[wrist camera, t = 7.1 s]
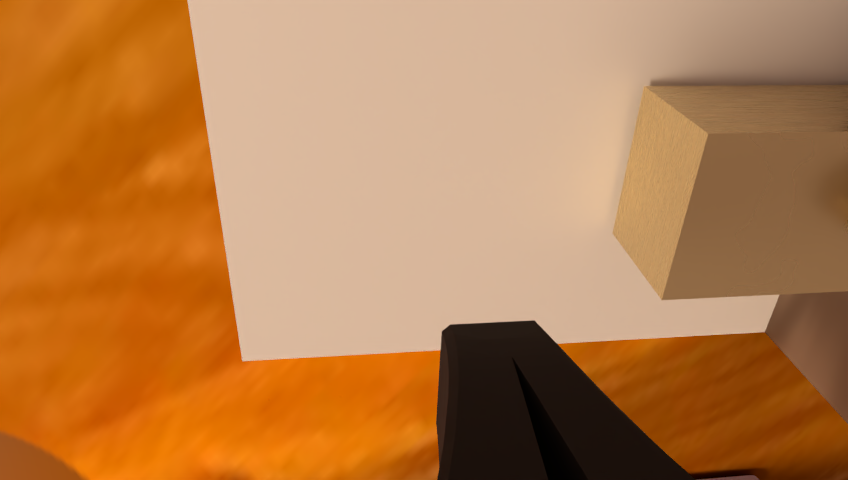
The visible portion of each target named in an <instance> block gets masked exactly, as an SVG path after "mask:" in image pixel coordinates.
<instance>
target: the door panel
mask: <svg viewBox="0 0 848 480" xmlns="http://www.w3.org/2000/svg"><path fill="white" fill-rule="evenodd" d="M188 7H189V14H190V20H191V27H192V33H193V40H194V46H195V53H196V60H197V66H198V73H199V79H200V86H201V92H202V99H203V106H204V112H205V119H206V125H207V132H208V138H209V145H210V152H211V158H212V165H213V171H214V178H215V184H216V191H217V197H218V204H219V211H220V217H221V224H222V230H223V237H224V243H225V250H226V257H227V263H228V270H229V276H230V283H231V289H232V296H233V303H234V309H235V316H236V322H237V329H238V335H239V342H240V349H241V355H242V361H254V360H272V359H289V358H307V357H325V356H343V355H361V354H379V353H397V352H415V351H433V350H441V335H442V331H443V330H444V329H445V328H447V327H448V326H449V325H450V324H471V323H491V322H511V321H531V320H535V322H536V323H537V324H538V325H539V326H540V327H541V328H542V329H543V330H544V331H545V332H546V333H547V334H548V335H549V336H550V337H551V338H552V339H553V340H554V341H555V342H556V343H557V344H558V343H576V342H594V341H612V340H630V339H648V338H666V337H684V336H702V335H720V334H738V333H756V332H765V330H766V328H767V325H768V323H769V320H770V318H771V315H772V313H773V310H774V307H775V305H776V302H777V300H778V297H779V295H760V296H740V297H719V298H698V299H678V300H661V299H660V297H659V296H658V295H657V293H656V292H655V290H654V289H653V288H652V286H651V285H650V284H649V282H648V281H647V280H646V278H645V277H644V276H643V274H642V273H641V271H640V270H639V269H638V267H637V266H636V265H635V263H634V262H633V261H632V259H631V258H630V257H629V255H628V254H627V252H626V251H625V250H624V248H623V247H622V246H621V244H620V243H619V242H618V240H617V239H616V238H615V236H614V235H613V228H614V224H615V219H616V214H617V210H618V205H619V200H620V196H621V191H622V186H623V182H624V177H625V172H626V168H627V163H628V158H629V154H630V149H631V144H632V140H633V135H634V130H635V126H636V121H637V116H638V112H639V107H640V102H641V98H642V93H643V89H644V86H744V85H848V0H188Z"/></svg>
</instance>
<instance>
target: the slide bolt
mask: <svg viewBox="0 0 848 480" xmlns="http://www.w3.org/2000/svg"><path fill="white" fill-rule="evenodd" d="M613 235H614V236H615V238H616V239H617V240H618V242H619V243H620V244H621V246H622V247H623V248H624V250H625V251H626V252H627V254H628V255H629V257H630V258H631V259H632V261H633V262H634V263H635V265H636V266H637V267H638V269H639V270H640V271H641V273H642V274H643V276H644V277H645V278H646V280H647V281H648V282H649V284H650V285H651V286H652V288H653V289H654V290H655V292H656V293H657V295H658V296H659V297H660V299H661V300H678V299H698V298H719V297H740V296H760V295H781V294H802V293H822V292H843V291H848V85H744V86H644V89H643V93H642V98H641V102H640V107H639V112H638V116H637V121H636V126H635V130H634V135H633V140H632V144H631V149H630V154H629V158H628V163H627V168H626V172H625V177H624V182H623V186H622V191H621V196H620V200H619V205H618V210H617V214H616V219H615V224H614V228H613Z"/></svg>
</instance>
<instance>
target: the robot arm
mask: <svg viewBox="0 0 848 480" xmlns="http://www.w3.org/2000/svg"><path fill="white" fill-rule="evenodd" d="M436 424H437V434H438V446H439V466H440V468H439V473H438V479H437V480H695V479H694V478H693V477H692V476H691V475H690V474H689V473H687V472H686V471H685V470H684V469H683V468H682V467H681V466H679V465H678V464H677V463H676V462H675V461H674V460H673V459H672V458H670V457H669V456H668V455H667V454H666V453H665V452H664V451H663V450H662V449H661V448H660V447H659V446H658V445H656V444H655V443H654V442H653V441H652V440H651V439H650V438H649V437H648V436H647V435H646V434H645V433H644V432H643V431H642V430H641V429H640V428H639V427H638V426H637V425H636V424H635V423H634V422H633V421H632V420H631V419H629V418H628V417H627V416H626V415H625V414H624V413H623V412H622V411H621V410H620V409H619V408H618V407H617V406H616V405H615V404H614V403H613V402H612V401H611V400H610V399H609V398H608V397H607V396H606V395H605V394H604V393H603V392H602V391H601V390H600V389H599V388H598V387H597V386H596V385H595V384H594V382H593V381H592V380H591V379H590V378H589V377H588V376H587V375H586V374H585V373H584V372H583V371H582V370H581V369H580V368H579V367H578V366H577V365H576V364H575V363H574V362H573V360H572V359H571V358H570V357H569V356H568V355H567V354H566V353H565V352H564V351H563V350H562V349H561V348H560V347H559V346H558V344H557V343H556V342H555V341H554V340H553V339H552V338H551V337H550V336H549V335H548V334H547V333H546V332H545V331H544V330H543V329H542V328H541V327H540V326H539V325H538V324H537V323H536V322H535V320H531V321H511V322H491V323H471V324H450V325H449V326H448V327H447V328H445V329H444V330H443V331H442V335H441V352H440V369H439V386H438V403H437V421H436ZM697 480H759V479H758V478H757V477H756V476H754V475H744V476H732V477H721V478H709V479H697Z"/></svg>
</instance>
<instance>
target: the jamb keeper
mask: <svg viewBox="0 0 848 480" xmlns="http://www.w3.org/2000/svg"><path fill="white" fill-rule="evenodd" d="M765 333H766V334H767V335H768V336H769V337H770V338H771V339H772V340H773V342H774V343H775V344H776V345H777V346H778V347H779V348H780V349H781V350H782V352H783V353H784V354H785V355H786V356H787V357H788V358H789V359H790V360H791V361H792V363H793V364H794V365H795V366H796V367H797V368H798V369H799V370H800V371H801V373H802V374H803V375H804V376H805V377H806V378H807V379H808V380H809V381H810V382H811V384H812V385H813V386H814V387H815V388H816V389H817V390H818V391H819V392H820V394H821V395H822V396H823V397H824V398H825V399H826V400H827V401H828V402H829V403H830V405H831V406H832V407H833V408H834V409H835V410H836V411H837V412H838V413H839V415H840V416H841V417H842V418H843V419H844V420H845V421H846V422H847V423H848V291H843V292H822V293H802V294H781V295H779V297H778V300H777V302H776V305H775V307H774V310H773V313H772V315H771V318H770V320H769V323H768V325H767V328H766V330H765Z"/></svg>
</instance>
